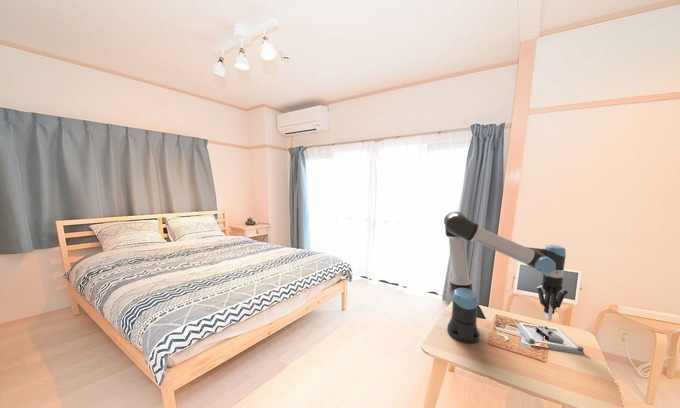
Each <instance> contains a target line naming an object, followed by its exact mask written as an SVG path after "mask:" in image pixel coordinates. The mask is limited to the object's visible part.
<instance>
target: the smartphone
mask: <svg viewBox="0 0 680 408" xmlns="http://www.w3.org/2000/svg"><path fill="white" fill-rule="evenodd" d="M479 306H480V305H479V304H478V308H477V319H484V320H487V318H486V316H485V314H484V312H483V310H482V308H481V306H480V307H479Z"/></svg>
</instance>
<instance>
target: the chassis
mask: <svg viewBox="0 0 680 408" xmlns="http://www.w3.org/2000/svg"><path fill="white" fill-rule="evenodd" d="M514 323H515V325H516V326H517V328H518V329H519V330H520V331H521V332H522V334H523V335H524V336H525V337H526V338H527V340H528V341H529V342H530V344H534V343H543V344H547V346H548V348H547V350H548V349H549V350H553V351H554V350H555V351H559V352H560V351H561V352H565V353H566V352H567V353H572V354H573V353H574V354H577V355H585V351H584V346H583V347H582V346H580V345H577V344H576V343H575V342H574V341H573V340H572V339H571V338H569V336H568V335H566V333H564V332H563V331H562V330H561V329H560V328H559V329H558V328H557V327H554V326H553V327H552V326H551V327H550V326H547V327H548V328H549V329H550V330H551V331H553V332H554V333H555V334H557V335H558V336H560V337H561V338H562V339H563V340H564V343H558V342H556V341H553V340H549V341H548V340H547V341H546V342H545V341H542V340H543V338H544V335H542V334H541V333H538V332H536V330H535V329H533V328H530V327H529V326H531V327H538V326H540V325H538V324H531V323H525V322H514ZM515 325H514V326H515ZM517 328H516V329H517ZM518 329H517V330H518ZM519 330H518V331H519ZM522 334H521V335H522ZM538 340H539V341H538Z"/></svg>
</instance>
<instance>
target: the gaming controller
mask: <svg viewBox="0 0 680 408" xmlns="http://www.w3.org/2000/svg"><path fill="white" fill-rule="evenodd" d="M548 327H549V326H545V325H539V326H538V327H536V332H538V333H541V334H542V335H544V336H545V340H548V341H549V340H553V341H556V342H558V343H564V340H563V339H562V338H561V337H560V336H558V335H557V334H555V333H554V332H553V331H551V330H550V329H549V328H548Z"/></svg>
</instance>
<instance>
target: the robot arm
mask: <svg viewBox="0 0 680 408" xmlns="http://www.w3.org/2000/svg"><path fill="white" fill-rule="evenodd" d="M443 222H444V223H443V224H444V229H445V236H446V237H447V238H448V241H449V253H450V254H449V255H450V265H451V278H450V279H449V293H450V297H451V302H452V309H451V318H450V319H449V322H448V324H447V328H446V329H447V334H448V335H449V336H450V337H451V338H453V339H454V340H456V341H458V342H461V343H465V344H475V343H478V342H479V341H480V333H479V328H478V326H477V319H478V318H477V308H478V305H479V296H478V294H477V293H476V292H475V291H473V281H472V280H471V279H470V278H469V267H468V252H467V241H469V242H472V241H474V242H476V243H478V244H480V245H483V246H484V247H487V248H490V249H491V250H494V251H496V252H498V253H500V254H502V255H505V256H507V257H510V258H511V259H514V260H516V261H518V262H521V263H522V264H525V265H527V266H529V267H531V268H533V269H536V271H537V272H539V273H542V283H541V284H540V285H539V286H538V285H536V286H535V289H536V290H537V293H538V294H537V295H538V300H539V304H540V305H541V306H543V307H544V308H543V311H544V315H545V319H546V320H548V321H551V322H552V320H553V318H552V317H553V315H554V314H555V311H556V310H557V308H559V309H560V307H561V306H562V304H563V300H564V299H565V297H566V296H565V295H567V294H568V293H569V292H568V291H567V290H566V289H565V288H563V286H562V285H563V281H564V273H565V272H564V271H565V270H564V269H565V262H566V257H567V254H566V248H565V247H563V246H559V245H555V244H547V245H546V246H545V248H538V247H537V248H536V247H528V246H523V245H522V244H520V243H517V242H515V241H513V240H510V239H508V238H506V237H504V236H501V235H499V234H496V233H494V232H492V231H489V230H487V229H485V228H482V227H481V226H480V225H479V224H478V223H476V222H474V221H472V220H471V219H469V218H468V217H466V216H465V214H464V213H462V212H460V211H451V212H448V213H447V214H446V215H445V217H444V220H443ZM543 290H544V291H543Z"/></svg>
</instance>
